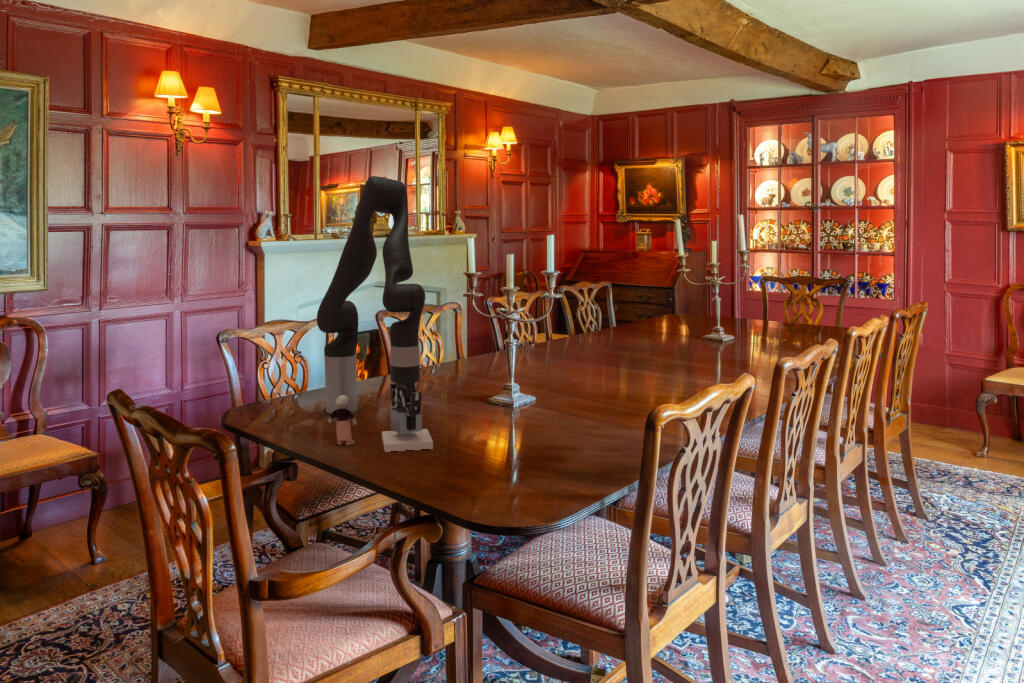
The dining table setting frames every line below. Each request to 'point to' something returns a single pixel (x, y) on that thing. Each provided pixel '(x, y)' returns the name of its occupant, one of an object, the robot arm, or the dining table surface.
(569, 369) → the dining table surface
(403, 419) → the collar
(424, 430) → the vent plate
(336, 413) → the grandmother figurine
